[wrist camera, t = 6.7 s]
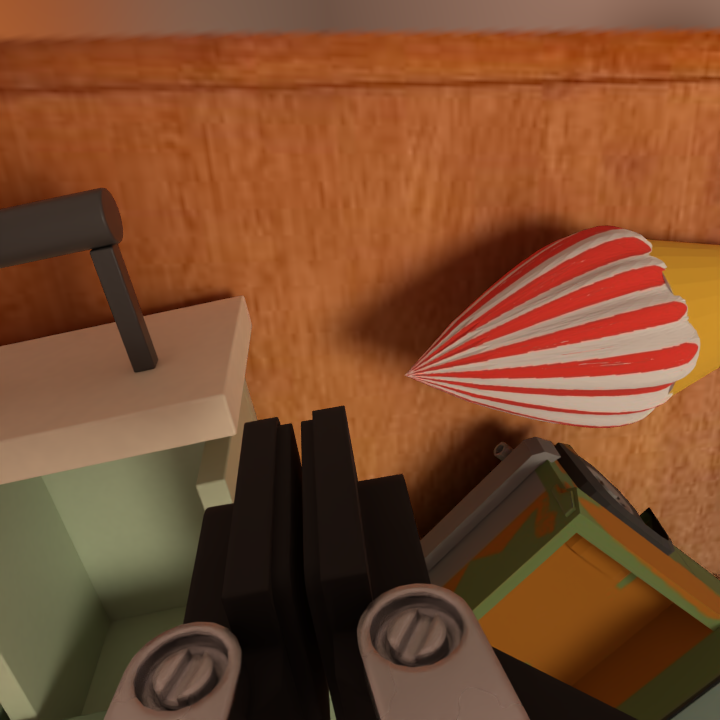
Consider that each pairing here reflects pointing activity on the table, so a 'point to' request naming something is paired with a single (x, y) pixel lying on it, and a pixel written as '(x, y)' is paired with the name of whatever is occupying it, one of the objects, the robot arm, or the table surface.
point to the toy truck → (582, 584)
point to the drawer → (106, 467)
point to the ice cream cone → (585, 331)
